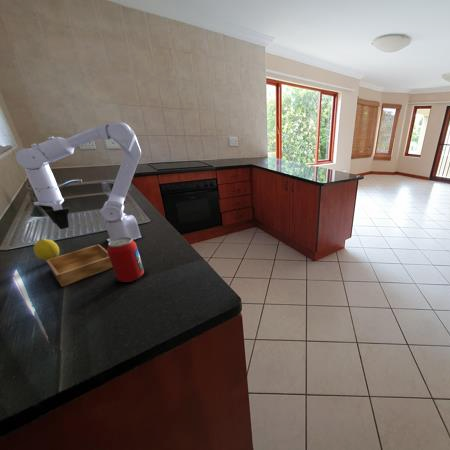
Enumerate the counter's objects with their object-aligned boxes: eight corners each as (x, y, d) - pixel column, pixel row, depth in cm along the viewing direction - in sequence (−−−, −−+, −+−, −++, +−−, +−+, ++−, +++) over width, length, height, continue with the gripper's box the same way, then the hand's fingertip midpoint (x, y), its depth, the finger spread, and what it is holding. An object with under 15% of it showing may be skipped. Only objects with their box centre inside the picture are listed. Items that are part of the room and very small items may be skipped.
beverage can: (150, 273, 73) (140, 238, 68) (129, 286, 67) (116, 248, 62) (133, 268, 75) (123, 234, 70) (112, 281, 69) (98, 244, 64)
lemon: (48, 266, 75) (38, 244, 72) (35, 264, 76) (24, 242, 73) (67, 257, 80) (58, 236, 77) (54, 255, 81) (45, 234, 78)
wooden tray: (102, 253, 83) (98, 243, 82) (116, 266, 76) (113, 255, 74) (50, 270, 73) (45, 259, 72) (61, 286, 66) (56, 275, 65)
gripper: (23, 186, 78) (41, 223, 83) (31, 193, 70) (50, 234, 75) (52, 182, 83) (67, 218, 88) (63, 188, 75) (79, 227, 80)
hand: (61, 225), depth 82 cm, fingers open, 7 cm apart
